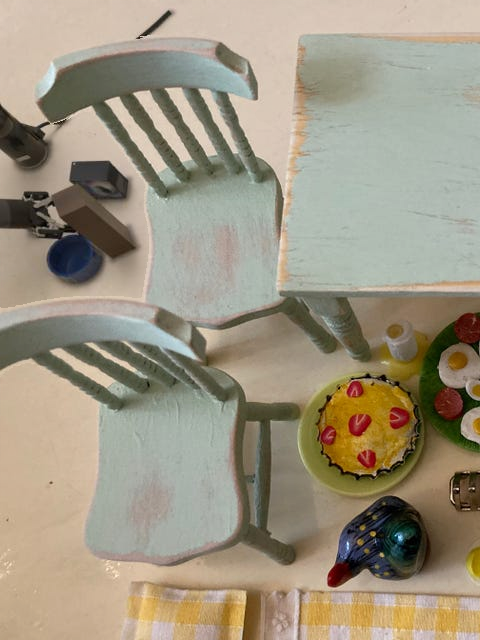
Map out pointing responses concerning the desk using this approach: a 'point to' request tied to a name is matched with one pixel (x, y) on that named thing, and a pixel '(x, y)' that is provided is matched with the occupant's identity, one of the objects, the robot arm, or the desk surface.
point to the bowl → (74, 258)
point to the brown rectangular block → (93, 220)
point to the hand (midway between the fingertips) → (73, 215)
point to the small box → (99, 179)
